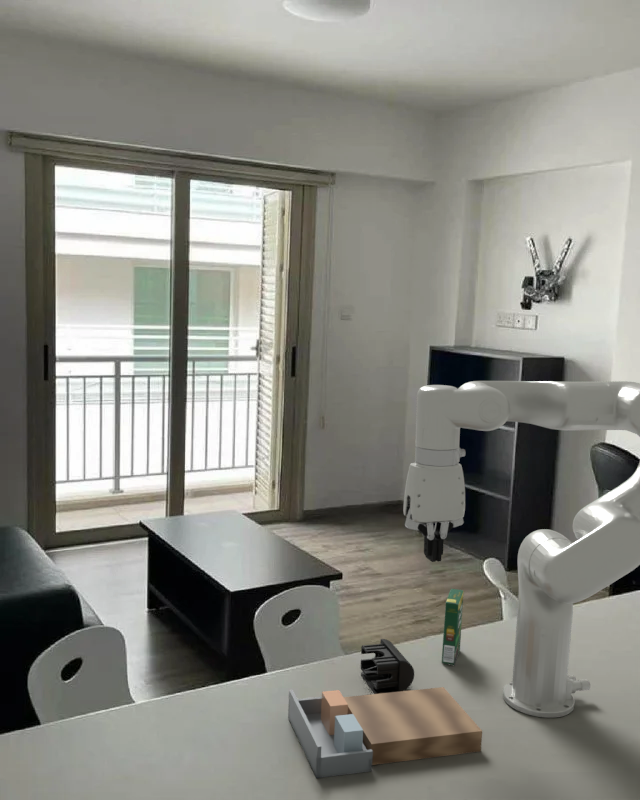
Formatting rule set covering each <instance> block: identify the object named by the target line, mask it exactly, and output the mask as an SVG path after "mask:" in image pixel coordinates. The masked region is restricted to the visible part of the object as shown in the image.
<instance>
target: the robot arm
mask: <svg viewBox="0 0 640 800" xmlns="http://www.w3.org/2000/svg"><path fill="white" fill-rule="evenodd" d="M415 417H416V419H415V445H414V446H415V447H414V462H412V463H410V464H409V466H408V471H407V475H406V481H405V487H404V495H403V505H402V506H403V510H402V511H403V515H404V516H405V517H406V518H405V522H404V526H405V528H407V529H409V530H414V531H419V532H420V534H421V535H422V536H423V554H424V556H425V558H426V559H427V560H429V561H430V562H431V563H436V562H442V555H444V542H445V541H444V540H445V539H446V538H447V536H448V534H449V532H450V531H451V530H452V529H453V528H457V527H459V526H462V525H463V524H464V523H465V521H464V517H465V511H466V487H465V477H464V470H463V467H462V464H461V463H459V462H460V459H461V458H462V457H465V456H466V449H464V448H461V447H460V436H461V435H460V434H461V428H462V429H468V430H473V431H474V430H475V431H483V432H490V431H494V430H498V429H499V428H502V426H504V424H506V422H510V423H511V422H513V423H524V424H528V425H529V424H531V425H534V426H538V427H542V428H545V429H549V430H556V431H557V430H558V431H601V430H602V431H627V432H630V433H631V434H635V435H637V436H638V437H639V438H640V382H637V381H626V380H625V381H621V380H620V381H619V380H618V381H617V380H615V381H611V380H610V381H609V380H608V381H607V380H606V381H604V380H602V381H553V380H548V381H547V380H543V381H541V380H539V381H530V380H529V381H528V380H527V381H526V380H473V381H468V382H465V383H463V384H462V385H460V386H459V387H456V386H453V385H446V384H445V385H444V384H428V385H423V386H421V387H419V389H418V391H417V393H416V414H415ZM434 524H435V525H434ZM572 532H573V533H574V536H575V538H576V539H577V540H574V542H573V541H572V540H570V539H569V538H567V536H565V535H563V534H562V533H561V532H558V531H555V530H552V529H547V528H546V529H545V528H544V529H543V528H542V529H537V530H534V531H532V532H530V533H529V534H528V535H526V536H525V538H523V540H522V542H521V543H520V546H519V548H518V551H517V552H518V553H517V578H518V601H517V602H518V603H517V613H516V614H517V615H516V627H515V628H516V629H515V643H514V654H513V655H514V656H513V669H512V681H509V682H508V683H506V684H505V685H503V688H502V698H503V700H504V701H505V703H506V704H507V705H508V706H509V707H511V708H512V709H514V710H516V711H517V712H518V711H519V712H521V713H522V714H525V715H529V716H532V717H538V718H547V719H548V718H549V719H550V718H561V717H565V716H567V715H568V714H570V713H572V711H573V710H574V708H575V698H574V697H573V695H572V694H575V693H576V692H578V691H579V692H582V691H590V690H591V682H590V681H589V679H587V678H585V679H577V678H576V676H575V675H572V674H571V675H569V664H570V662H569V661H570V653H571V652H570V650H571V649H570V648H571V637H572V625H573V618H574V617H573V616H574V604H576V603H579V602H582V601H584V600H586V599H588V598H590V597H591V596H594V595H595V594H597V593H599V592H600V591H602V590H604V589H605V588H607V587H609V586H610V585H612V584H613V583H615V582H616V581H618V580H619V579H621V578H623V577H625V576H626V575H628V574H629V573H631V572H633V571H635V569H636V568H638V567H639V566H640V461H639V463H638V465H637V468H636V469H635V471H634V472H633V474H632V475H631V476H630V477H628V478H627V480H625V481H623V482H622V483H620V485H618V486H617V487H614V488H613V489H612V490H610V491H608V492H606V493H605V494H603V495H602V496H600V497H599V498H597V499H595V500H593V501H591V502H590V503H588V504H587V505H585V506H584V507H582V508H581V509H580V510H578V512H577V513H576V514H575V516H574V518H573V520H572Z"/></svg>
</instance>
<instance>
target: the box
mask: <svg viewBox="0 0 640 800" xmlns="http://www.w3.org/2000/svg"><path fill="white" fill-rule="evenodd" d="M321 705H322V696H314V697H305V698H304V697H303V698H298V697H297V696H296V694H295V692H294V689H289V691H288V709H287V711H288V713H287V715H288V716H287V718H288V721H289V722H290V724H291V727H292V729H293V730H294V734H295V736H296V738H297V740H298V742H299V744H300V746H301V748H302V750H303V752H304V755H305V757H306V759H307V761H308V763H309V766H310V768H311V770H312V772H313V774H314V776H315V778H316V779H320V778H329V777H336V776H342V775H345V776H346V775H350V774H360V773H366V772H367V773H368V772H372V771H373V765H372V758H373V751H372V749H370V750H367V749H366V747H365V746H364V744H363V743H362V751H353V752H345V753H338V752H337V750H336V748H335V747H334V735H329V734H328V732H327V730H326V728H325V726H324V725H323V723H322V721H321Z"/></svg>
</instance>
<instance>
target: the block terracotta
mask: <svg viewBox="0 0 640 800" xmlns="http://www.w3.org/2000/svg"><path fill="white" fill-rule="evenodd" d="M321 697H322V705H321V721H322V723H323V725H324V726H325V728H326V730H327V732H328V734H329V735H334V730H335V716H338V715H348V704H347V702H346V700H345V699H344V697H345V696H343V693H342V692H341V691H340V690H339V689H335V690H326V691H325V690H324V691H322V692H321Z"/></svg>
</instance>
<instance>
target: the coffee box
mask: <svg viewBox="0 0 640 800" xmlns="http://www.w3.org/2000/svg"><path fill="white" fill-rule="evenodd" d="M464 592H465V591H464V590H463V589H457V588H456V589H455V588H450V590H449V593H448V596H447V599H446V601H445V610H444V620H443V621H444V623H443V637H442V649H441V650H442V653H441V663H444V664H443V665H448V664H450V665H449V666H453V665H454V666H455V665H456V662H457V659H458V656H459V654H460V651H461V638H462V622H463V608H464V607H463V605H464V594H465V593H464Z"/></svg>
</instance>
